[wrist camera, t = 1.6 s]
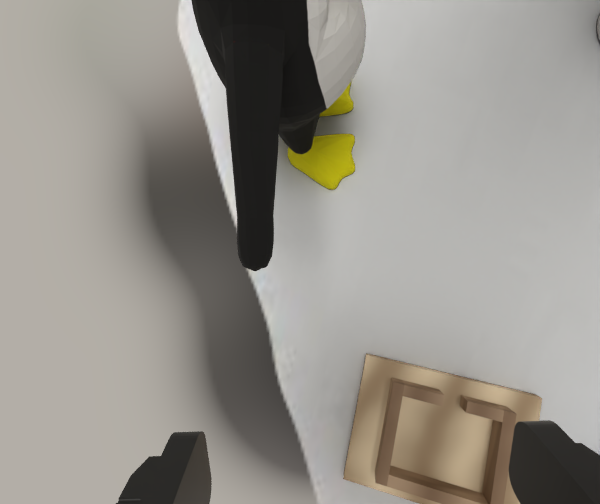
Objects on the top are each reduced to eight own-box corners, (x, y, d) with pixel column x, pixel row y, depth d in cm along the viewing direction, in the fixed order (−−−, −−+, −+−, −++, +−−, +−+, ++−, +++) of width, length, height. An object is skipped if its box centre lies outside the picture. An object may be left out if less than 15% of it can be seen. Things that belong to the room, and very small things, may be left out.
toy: (378, 283, 36) (451, 218, 7) (264, 286, 38) (-51, 245, 9) (362, -20, 41) (368, -803, 12) (263, -2, 43) (60, -630, 14)
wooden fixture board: (535, 394, 32) (554, 404, 29) (517, 527, 31) (534, 553, 28) (366, 353, 35) (366, 358, 32) (343, 472, 34) (342, 490, 31)
